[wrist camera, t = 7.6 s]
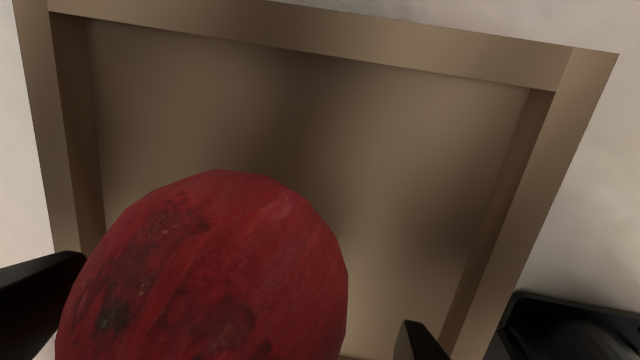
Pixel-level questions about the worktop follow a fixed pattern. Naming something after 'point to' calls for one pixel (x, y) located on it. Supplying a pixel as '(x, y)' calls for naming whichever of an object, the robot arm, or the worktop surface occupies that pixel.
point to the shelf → (319, 138)
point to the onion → (210, 278)
